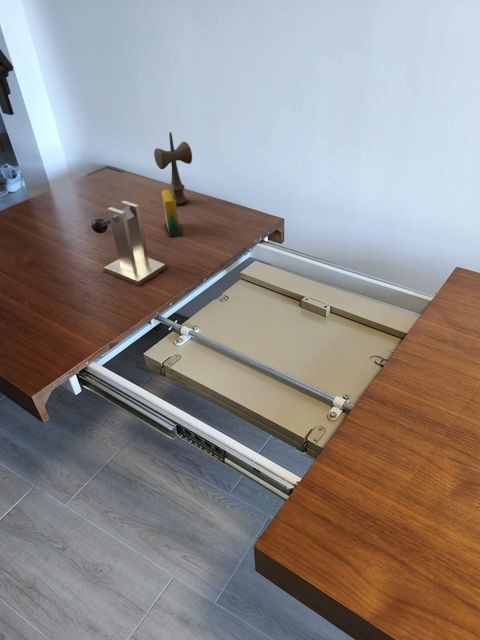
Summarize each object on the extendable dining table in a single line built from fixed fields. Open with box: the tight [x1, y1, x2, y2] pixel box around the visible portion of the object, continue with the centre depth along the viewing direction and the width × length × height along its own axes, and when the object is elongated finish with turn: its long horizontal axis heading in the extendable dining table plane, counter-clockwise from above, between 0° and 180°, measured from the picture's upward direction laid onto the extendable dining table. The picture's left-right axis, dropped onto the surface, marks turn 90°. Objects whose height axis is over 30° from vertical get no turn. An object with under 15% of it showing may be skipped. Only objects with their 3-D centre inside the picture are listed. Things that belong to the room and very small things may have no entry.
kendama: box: [153, 131, 193, 206], centre depth 135 cm, size 6×10×20 cm, turn 126°
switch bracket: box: [103, 200, 167, 286], centre depth 107 cm, size 11×9×16 cm
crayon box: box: [161, 182, 181, 238], centre depth 124 cm, size 7×3×12 cm, turn 15°
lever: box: [90, 206, 134, 234], centre depth 107 cm, size 14×4×4 cm, turn 57°
